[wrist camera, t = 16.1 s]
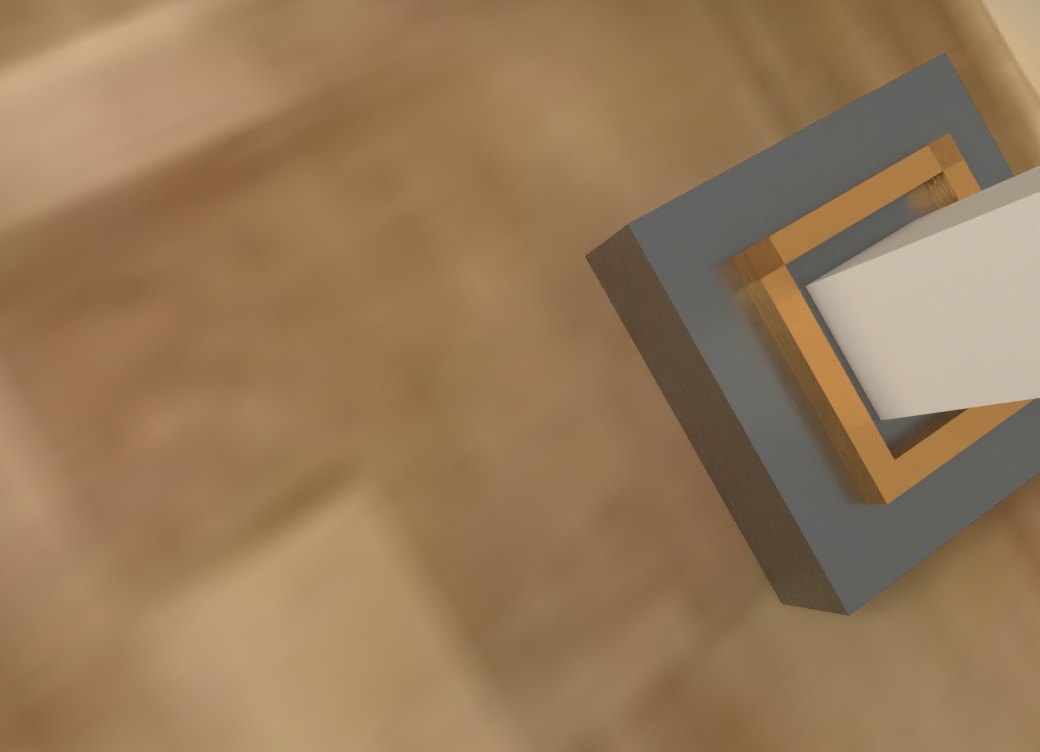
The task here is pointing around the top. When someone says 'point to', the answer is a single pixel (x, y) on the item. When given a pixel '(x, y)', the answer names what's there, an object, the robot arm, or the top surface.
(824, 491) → the jig plate
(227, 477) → the top surface
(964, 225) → the column
